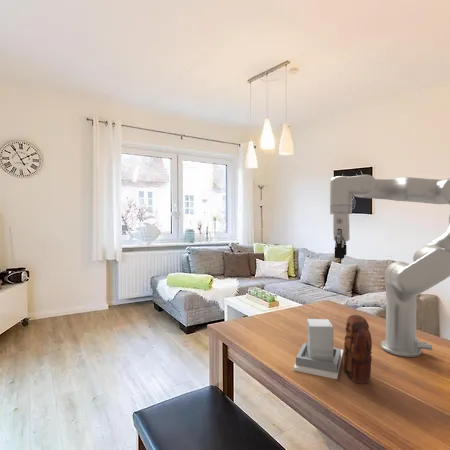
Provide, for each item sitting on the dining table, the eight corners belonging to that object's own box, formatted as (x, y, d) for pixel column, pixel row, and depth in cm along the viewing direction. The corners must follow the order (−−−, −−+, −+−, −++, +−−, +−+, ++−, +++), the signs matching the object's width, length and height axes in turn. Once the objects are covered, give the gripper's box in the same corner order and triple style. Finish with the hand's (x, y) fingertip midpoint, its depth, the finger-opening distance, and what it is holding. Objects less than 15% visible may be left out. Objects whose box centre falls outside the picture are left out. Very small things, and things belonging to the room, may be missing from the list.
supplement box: (329, 355, 106) (329, 318, 105) (333, 366, 98) (333, 326, 98) (306, 354, 107) (306, 318, 106) (309, 365, 99) (309, 325, 99)
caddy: (343, 352, 111) (343, 342, 111) (337, 379, 93) (337, 367, 92) (306, 346, 116) (306, 336, 116) (293, 370, 98) (293, 359, 98)
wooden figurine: (339, 365, 101) (339, 310, 101) (359, 365, 101) (359, 310, 100) (353, 385, 89) (353, 323, 89) (375, 385, 89) (376, 323, 89)
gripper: (350, 209, 106) (350, 260, 106) (353, 210, 121) (353, 254, 122) (327, 210, 109) (327, 259, 109) (332, 210, 124) (332, 253, 125)
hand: (340, 256), depth 116 cm, fingers open, 9 cm apart
